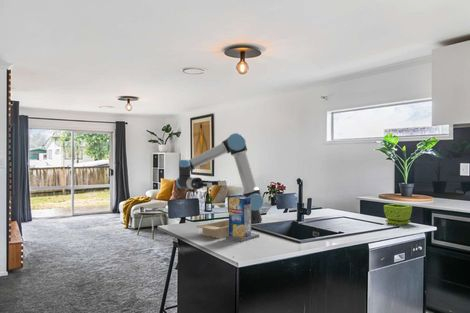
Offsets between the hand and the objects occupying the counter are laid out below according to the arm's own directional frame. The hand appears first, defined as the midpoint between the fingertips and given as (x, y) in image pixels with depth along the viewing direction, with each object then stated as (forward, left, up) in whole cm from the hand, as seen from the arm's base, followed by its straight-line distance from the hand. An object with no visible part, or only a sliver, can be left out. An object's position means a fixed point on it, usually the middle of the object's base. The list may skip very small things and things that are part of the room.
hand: (219, 184), depth 220 cm
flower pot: (-102, +76, -30) cm, 130 cm away
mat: (+2, +21, -30) cm, 36 cm away
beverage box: (+4, +20, -29) cm, 35 cm away
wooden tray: (+2, +5, -30) cm, 30 cm away
